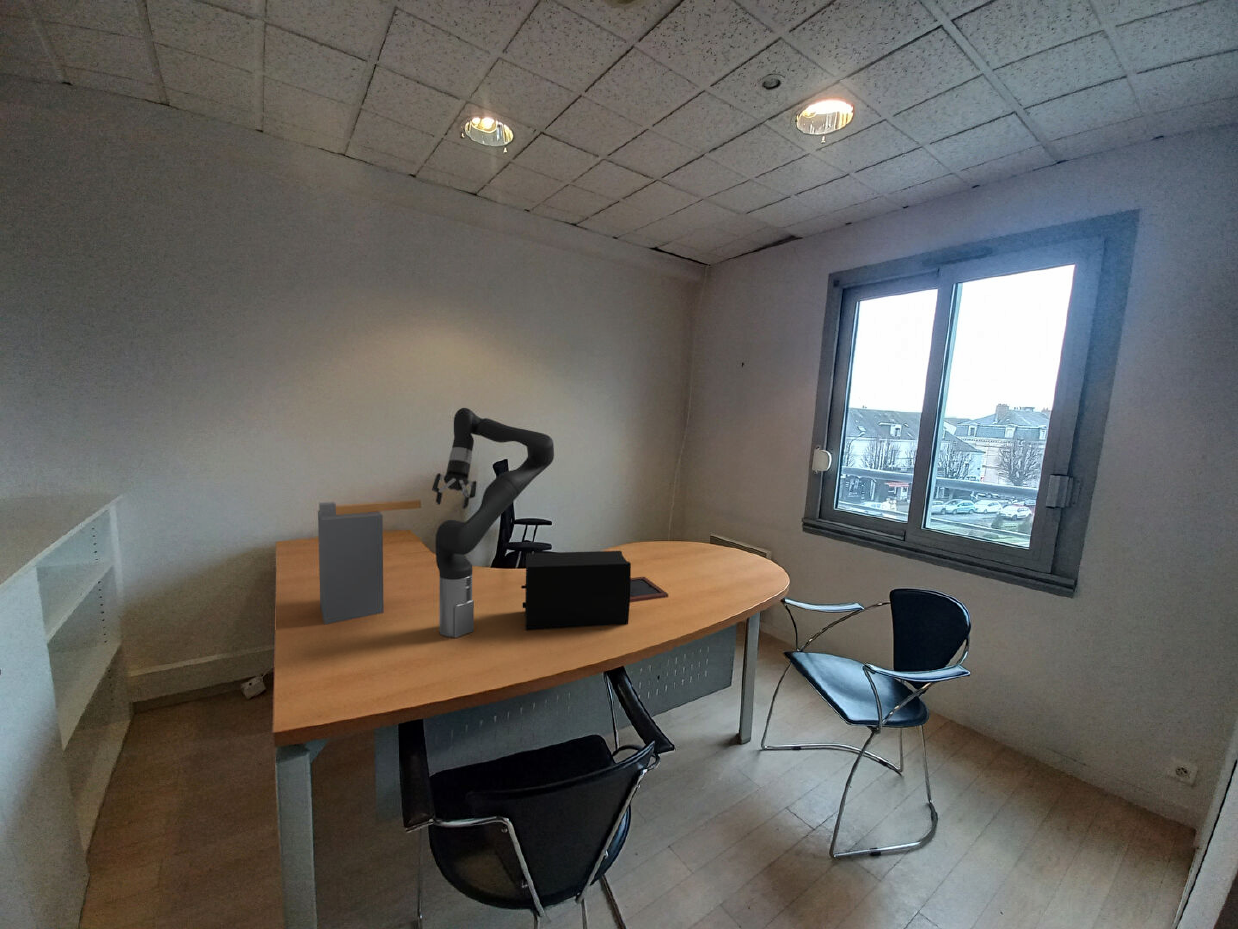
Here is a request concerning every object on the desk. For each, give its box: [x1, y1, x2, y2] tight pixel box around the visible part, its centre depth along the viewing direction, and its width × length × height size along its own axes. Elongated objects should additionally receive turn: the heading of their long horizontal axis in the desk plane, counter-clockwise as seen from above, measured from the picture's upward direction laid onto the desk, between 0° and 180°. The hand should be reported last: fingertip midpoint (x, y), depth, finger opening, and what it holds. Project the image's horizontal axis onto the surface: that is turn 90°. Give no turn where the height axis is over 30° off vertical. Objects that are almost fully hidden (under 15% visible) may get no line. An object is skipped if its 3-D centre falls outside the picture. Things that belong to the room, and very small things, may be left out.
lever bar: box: [318, 498, 422, 516], centre depth 147 cm, size 29×4×4 cm, turn 127°
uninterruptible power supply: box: [520, 550, 632, 632], centre depth 146 cm, size 16×34×20 cm, turn 103°
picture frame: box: [630, 576, 669, 603], centre depth 172 cm, size 20×2×25 cm
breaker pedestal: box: [317, 509, 385, 625], centre depth 145 cm, size 16×16×32 cm
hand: (451, 506), depth 155 cm, fingers open, 8 cm apart
